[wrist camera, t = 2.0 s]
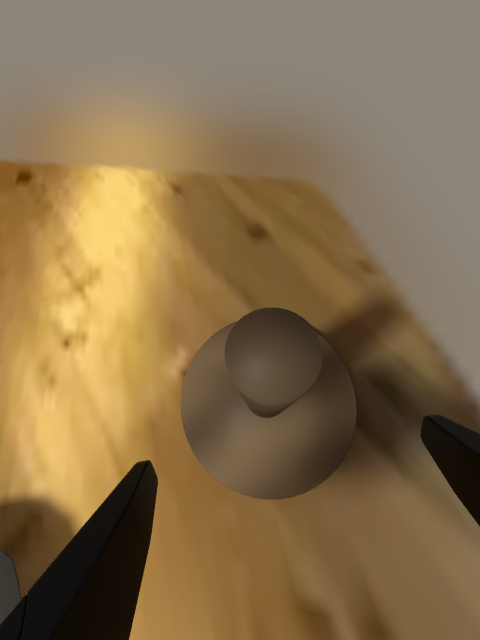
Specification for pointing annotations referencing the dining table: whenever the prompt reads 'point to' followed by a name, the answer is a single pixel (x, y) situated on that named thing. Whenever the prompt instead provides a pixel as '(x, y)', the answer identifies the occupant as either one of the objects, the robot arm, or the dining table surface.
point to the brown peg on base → (268, 406)
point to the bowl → (7, 587)
